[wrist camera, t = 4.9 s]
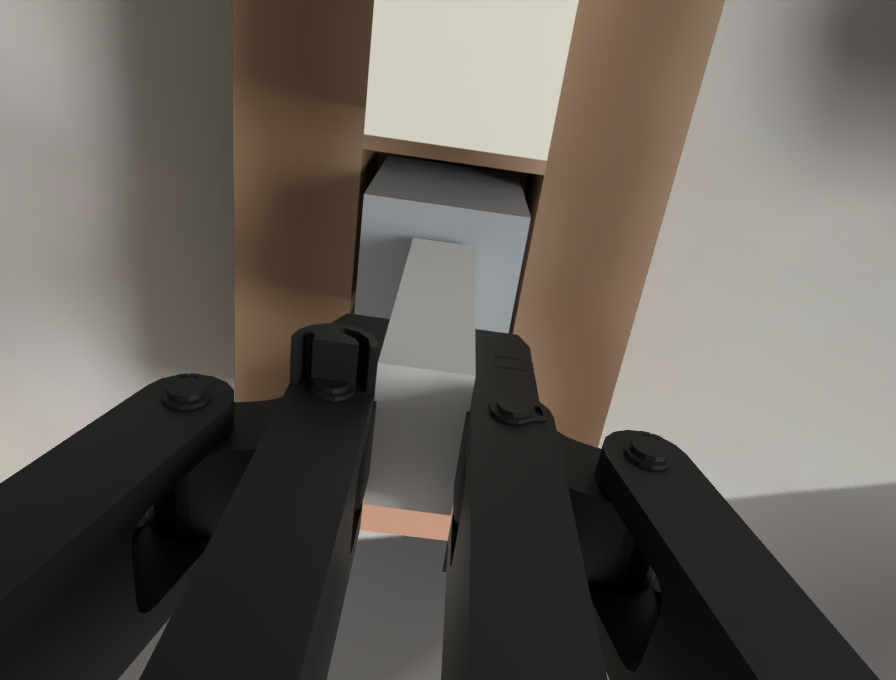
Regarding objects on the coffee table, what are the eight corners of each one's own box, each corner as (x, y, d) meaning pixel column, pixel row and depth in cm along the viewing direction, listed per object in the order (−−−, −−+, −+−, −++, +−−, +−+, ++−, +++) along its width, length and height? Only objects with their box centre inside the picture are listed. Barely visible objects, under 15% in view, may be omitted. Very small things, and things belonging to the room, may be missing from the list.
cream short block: (389, 107, 19) (363, 133, 14) (404, -55, 17) (380, -83, 12) (528, 127, 19) (546, 160, 14) (558, -32, 17) (589, -50, 13)
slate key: (376, 277, 22) (351, 344, 17) (388, 155, 20) (363, 194, 16) (496, 294, 22) (502, 364, 17) (517, 174, 20) (530, 218, 16)
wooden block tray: (274, 387, 27) (235, 461, 23) (286, -103, 20) (231, -139, 15) (563, 426, 27) (580, 506, 23) (680, -41, 20) (741, -59, 16)
